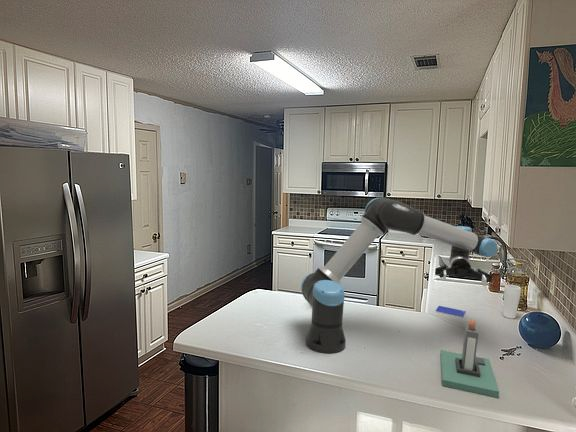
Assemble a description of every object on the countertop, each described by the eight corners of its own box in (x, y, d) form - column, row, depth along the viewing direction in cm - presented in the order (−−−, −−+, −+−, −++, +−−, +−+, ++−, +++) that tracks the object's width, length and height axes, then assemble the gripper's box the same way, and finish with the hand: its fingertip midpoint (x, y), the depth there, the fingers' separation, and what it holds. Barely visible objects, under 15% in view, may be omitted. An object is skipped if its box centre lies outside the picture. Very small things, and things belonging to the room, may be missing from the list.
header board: (440, 355, 145) (441, 346, 145) (488, 364, 140) (489, 355, 140) (442, 385, 125) (443, 376, 124) (498, 397, 120) (499, 387, 119)
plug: (460, 369, 135) (466, 317, 133) (471, 371, 134) (477, 318, 132) (461, 377, 130) (467, 322, 128) (473, 379, 129) (479, 324, 127)
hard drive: (466, 310, 190) (439, 305, 196) (463, 316, 183) (435, 309, 189) (465, 314, 190) (438, 308, 196) (463, 319, 183) (435, 313, 189)
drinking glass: (503, 318, 185) (507, 287, 183) (499, 313, 191) (502, 283, 189) (519, 320, 183) (523, 289, 181) (514, 315, 189) (518, 285, 187)
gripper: (492, 279, 161) (501, 295, 141) (428, 271, 169) (427, 285, 149) (494, 261, 160) (503, 275, 140) (429, 254, 168) (429, 266, 148)
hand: (464, 280), depth 145 cm, fingers open, 13 cm apart
